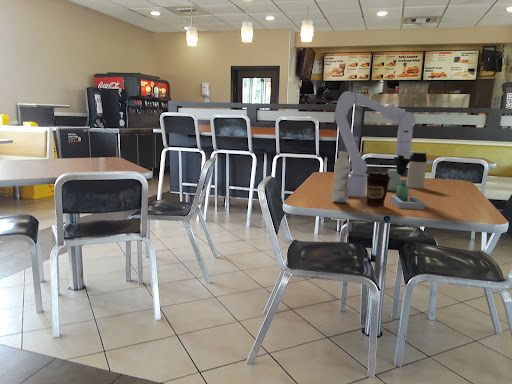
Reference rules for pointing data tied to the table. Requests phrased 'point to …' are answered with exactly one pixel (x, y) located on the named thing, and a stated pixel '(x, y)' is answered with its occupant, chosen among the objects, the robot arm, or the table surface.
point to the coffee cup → (377, 188)
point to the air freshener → (393, 180)
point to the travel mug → (417, 170)
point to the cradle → (408, 203)
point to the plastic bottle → (341, 177)
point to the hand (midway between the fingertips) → (400, 174)
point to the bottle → (402, 190)
